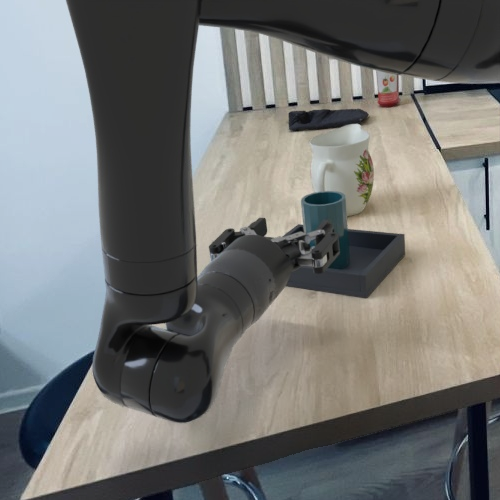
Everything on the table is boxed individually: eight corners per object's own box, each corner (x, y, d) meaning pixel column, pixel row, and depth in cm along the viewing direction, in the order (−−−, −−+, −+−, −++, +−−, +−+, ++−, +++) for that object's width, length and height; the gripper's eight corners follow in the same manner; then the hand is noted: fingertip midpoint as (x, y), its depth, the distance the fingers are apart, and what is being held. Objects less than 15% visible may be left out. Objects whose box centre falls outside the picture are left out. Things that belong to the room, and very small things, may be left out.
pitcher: (293, 228, 113) (285, 150, 107) (333, 194, 127) (327, 124, 122) (354, 233, 107) (348, 151, 102) (388, 196, 122) (384, 123, 116)
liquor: (403, 102, 199) (400, 4, 188) (398, 107, 193) (394, 6, 182) (379, 103, 202) (375, 7, 191) (373, 108, 196) (368, 9, 185)
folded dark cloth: (364, 128, 174) (363, 110, 173) (284, 132, 181) (282, 115, 179) (371, 115, 188) (370, 98, 186) (296, 120, 195) (295, 104, 193)
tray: (405, 254, 97) (404, 234, 96) (366, 298, 86) (365, 275, 85) (300, 242, 106) (298, 224, 105) (253, 281, 95) (250, 260, 94)
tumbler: (357, 256, 97) (352, 192, 93) (339, 274, 92) (333, 207, 88) (319, 252, 100) (313, 189, 96) (300, 269, 95) (293, 204, 91)
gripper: (301, 253, 63) (349, 197, 77) (175, 247, 69) (239, 196, 83) (309, 321, 66) (353, 256, 80) (187, 309, 72) (247, 250, 86)
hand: (295, 225), depth 81 cm, fingers open, 8 cm apart
